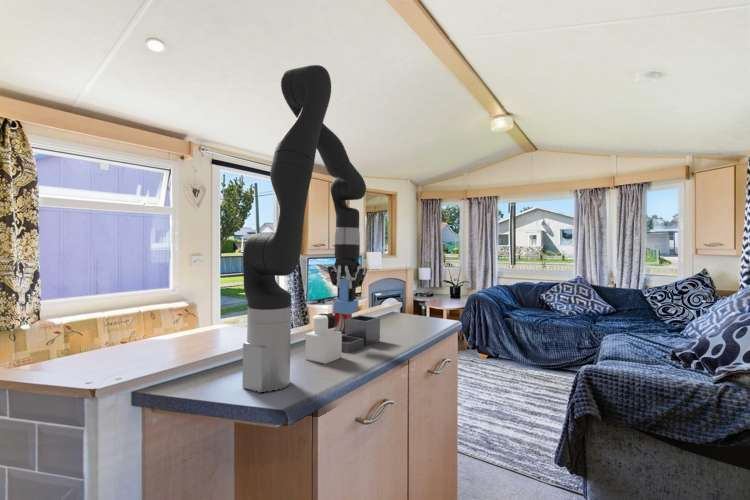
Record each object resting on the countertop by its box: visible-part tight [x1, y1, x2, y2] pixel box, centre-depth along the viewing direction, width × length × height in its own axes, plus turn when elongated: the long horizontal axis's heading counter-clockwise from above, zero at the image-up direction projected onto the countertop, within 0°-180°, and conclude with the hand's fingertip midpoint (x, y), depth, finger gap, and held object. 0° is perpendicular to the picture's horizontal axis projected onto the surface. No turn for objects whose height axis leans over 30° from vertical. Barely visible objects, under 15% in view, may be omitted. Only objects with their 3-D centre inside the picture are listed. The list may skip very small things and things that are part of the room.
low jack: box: [341, 334, 365, 354], centre depth 116 cm, size 8×8×2 cm
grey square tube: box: [344, 314, 381, 347], centre depth 124 cm, size 8×8×8 cm
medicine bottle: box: [304, 313, 343, 365], centre depth 105 cm, size 7×7×12 cm
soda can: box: [331, 296, 353, 333], centre depth 139 cm, size 7×7×12 cm
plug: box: [333, 278, 359, 314], centre depth 116 cm, size 5×5×10 cm
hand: (346, 300), depth 116 cm, fingers closed on plug, 3 cm apart
